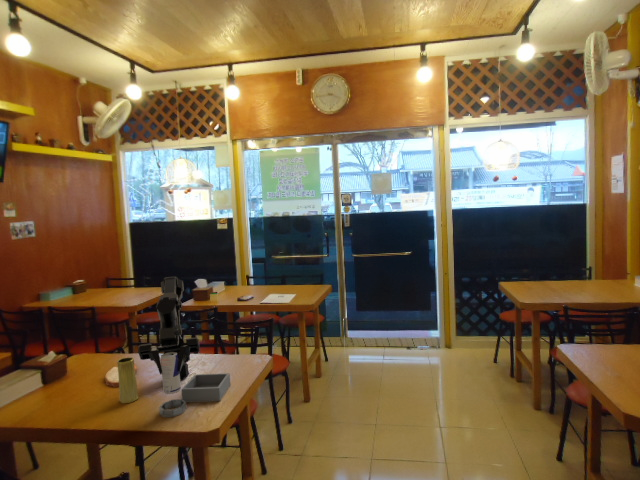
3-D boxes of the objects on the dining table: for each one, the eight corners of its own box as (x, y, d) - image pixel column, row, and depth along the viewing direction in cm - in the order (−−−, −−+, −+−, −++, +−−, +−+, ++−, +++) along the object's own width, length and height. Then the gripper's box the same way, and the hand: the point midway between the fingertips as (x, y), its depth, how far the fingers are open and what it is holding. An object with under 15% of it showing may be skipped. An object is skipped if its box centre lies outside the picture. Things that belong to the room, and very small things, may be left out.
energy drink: (184, 388, 140) (181, 352, 139) (173, 395, 135) (170, 358, 134) (170, 386, 141) (167, 351, 141) (159, 393, 136) (156, 357, 136)
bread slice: (122, 389, 160) (121, 379, 160) (88, 384, 167) (87, 374, 167) (157, 371, 177) (157, 362, 176) (125, 367, 184) (125, 359, 184)
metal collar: (156, 417, 135) (155, 410, 135) (166, 406, 142) (166, 399, 142) (180, 416, 134) (179, 410, 134) (189, 405, 142) (188, 399, 142)
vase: (120, 405, 145) (116, 364, 144) (119, 398, 151) (115, 359, 150) (139, 400, 148) (135, 360, 147) (137, 394, 154) (134, 355, 153)
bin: (182, 402, 145) (181, 389, 144) (196, 386, 158) (195, 374, 157) (220, 401, 144) (219, 388, 143) (230, 385, 157) (229, 373, 156)
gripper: (136, 320, 138) (134, 365, 128) (196, 313, 143) (199, 356, 133) (141, 337, 146) (140, 381, 136) (198, 330, 151) (200, 372, 141)
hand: (170, 372), depth 136 cm, fingers closed on energy drink, 5 cm apart
